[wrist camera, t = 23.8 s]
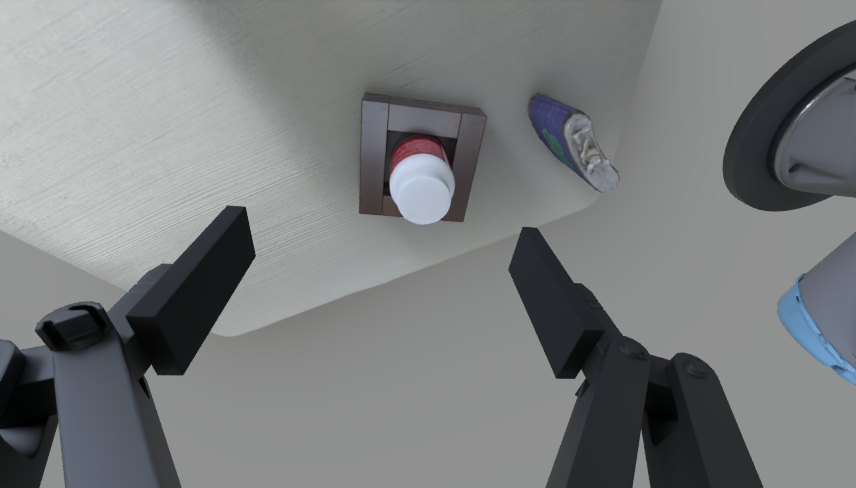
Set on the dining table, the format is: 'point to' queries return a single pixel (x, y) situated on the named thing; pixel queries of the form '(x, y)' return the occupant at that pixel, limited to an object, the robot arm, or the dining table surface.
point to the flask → (572, 140)
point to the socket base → (417, 119)
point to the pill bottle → (421, 178)
